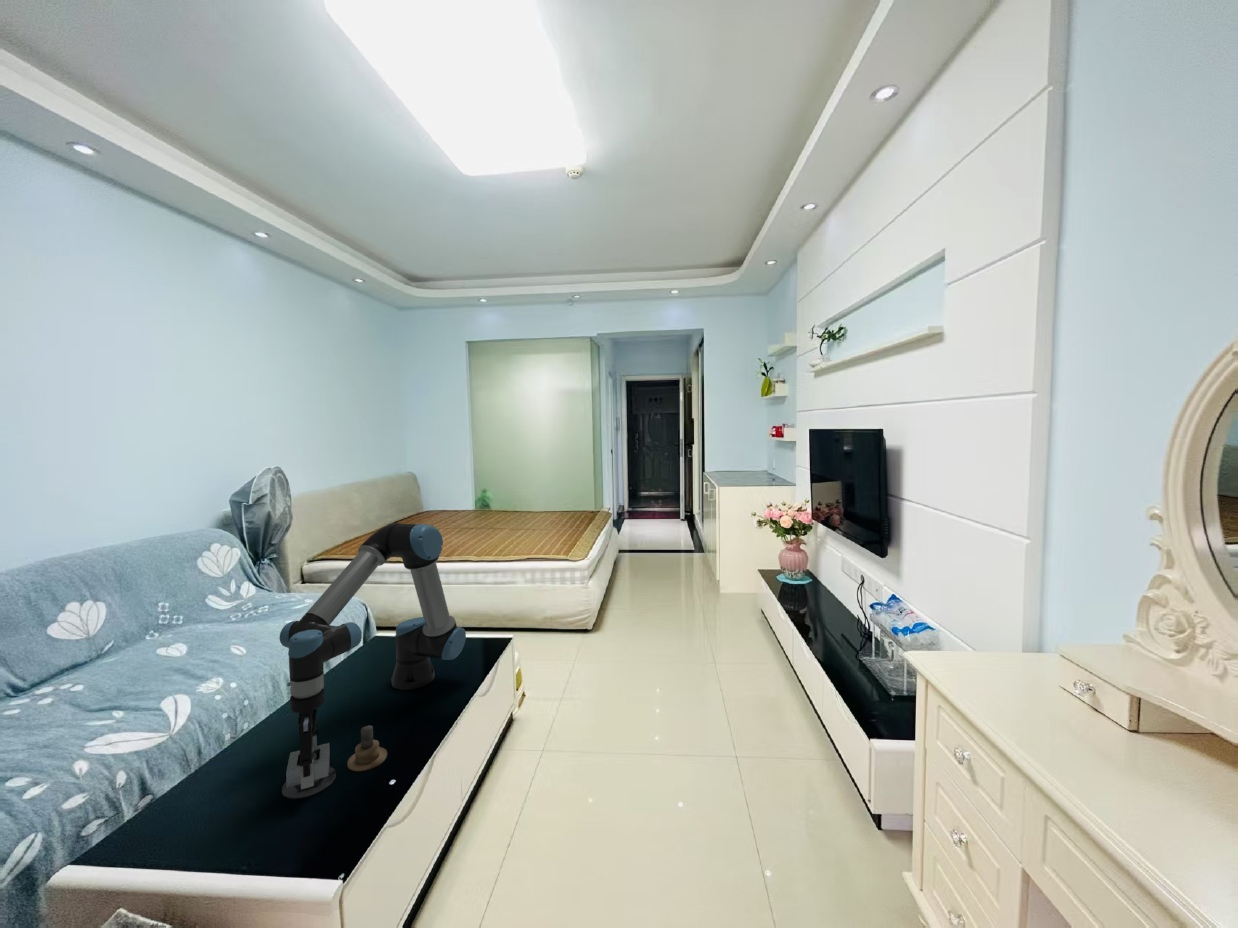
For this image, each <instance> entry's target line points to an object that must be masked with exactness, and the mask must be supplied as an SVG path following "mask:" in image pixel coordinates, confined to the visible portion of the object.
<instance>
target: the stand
mask: <svg viewBox="0 0 1238 928" xmlns="http://www.w3.org/2000/svg"><path fill="white" fill-rule="evenodd" d="M354 748H355V749H354V752H355V753H354V754H352V755H351V756H350V757H348V760H347V763H346V765H347V769H348V770H350V771H353V772H365V771H369V770H372V769H374V768H376V767H378V766H380V765H382V763H383V762H385V761H386V759H387V757H388V751H387V749H386V748H384V747H381V746H380V742H379V740H377V739H374V726H373V725H365V726H363V727H361V729H360V743H358V744H356V746H355V747H354Z"/></svg>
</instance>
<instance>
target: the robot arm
mask: <svg viewBox="0 0 1238 928" xmlns="http://www.w3.org/2000/svg"><path fill="white" fill-rule="evenodd" d="M443 545H444V541H443V535H442V533H441V532H440V530H439V529H438V528H437V527H435V526H433V525H430V524H424V523H401V522H400V523H398V522H395V523H391V524H387V525H386V526H383V527H381V528H379V529H378V530H377V531H375V532H374V533H372V535H370V536H369V537H368V538H367V539H365V541H364V542H363V543H362V544H361V545H360V546H359V547H358V549H357V552H358V553H357V554H356V556H355V557H354V558H353V559H352V560H351V561H350V562H349V564H348V565H347V566H346V567H345V568H344V569H343V570H342V571H341V572H340V574H339V575H337V577H336V578H335V579H334V581H333V582H332V583H331V584H330V585H329V586H328V588H327V589H326V590H325V591H324V592H323V593H322V594H321V596H320V597H319V598H318V599H317V600H316V601H315V602H314V603H313V605H312V606H311V607H309V609H307V611H306V612H305V614H304V615H303V616H302V617H301V619H299V620H293V621H290V622H288V623H286V624H285V625H284V626H283V627H282V629H281V631H280V633H279V642H280V644H281V645H282V646H283V647H284V648H288V654H287V655H288V665H289V666H288V669H289V682H287V683H286V686H287V687H290V688H289V690H290V691H289V693H290V694H289V695H290V697H289V702H290V705H289V706H290V707H289V708H290V711H291V712H292V713H295V714H298V715H299V717H298V720H297V722H298V726H299V727H298V735H299V750H300V763H297V766H300V772H301V789H304V788H308V787H311V786H314V771H313V758H312V747H313V746H314V747H315V746H318V745H317V743H318V742H317V735H318V734H320V729H317V727H318V726H317V715H318V708H320V707H321V706H322V705H323V704H324V702H325V689H324V687H325V671H324V666H325V665H324V664H325V663H326V662H328V661H330V660H332V659H334V658H336V657H338V656H340V655H342V654H345V653H347V652H350V651H351V650H352V649H354V648H356V647H358V646H359V645H360V643H361V641H362V637H363V635H362V634H363V633H362V629H361V628H360V626H359V625H358V624H357V623H356V622H353V621H349V622H346V623H342V624H340V625H331V624H332V623H333V622H334V620H335V619H336V618H338V615H340V614H341V612H342V611H343V609H344V608H345V607H346V606H347V604H348V603H349V602H350V601H351V600H352V598H353V597H355V595H356V593H358V591H359V590H360V589H361V587H362V586H363V585H364V583H366V581H367V580H368V579H369V578H370V577H371V576H372V574H373V573H374V571H375V570H376V569H377V568H378V567H381V566H383V565H384V564H385V563H386V562H387V561H388V560H390V559H391V558H400V559H401V560H402V563H403V566H404V568H405V569H407V570H409V571H410V574H411V577H412V581H413V583H414V584H413V585H414V588H415V592H416V595H417V600H418V602H419V606H420V610H421V614H422V617H420V616H419V617H414V618H410V619H409V618H408V619H405V620H404V621H401V622H400V623H398V624H397V625H396V627H395V635H394V636H395V660H396V661H395V662H396V664H395V666H394V669H393V674H392V676H391V687H393V688H394V689H396V690H401V691H402V690H403V691H409V690H415V689H419V688H423V687H424V686H427V685H429V684H430V683H432V682H433V681H434V680H435V669H434V666H433V664H432V661H431V659H439V660H443V661H445V660H448V661H450V660H454V659H456V658H457V657H458V656H459V655H460V654H461V653H462V651H463V648H464V646H465V643H466V639H467V633H466V630H465V629H464V627H461V626H457V622H456V619H455V617H454V616H452V615H450V612H449V609H448V606H447V605H448V604H447V602H446V601H447V600H446V598H445V597H446V596H445V594H444V589H443V586H442V580H441V577H440V573H439V569H438V566H437V561H438V560H439V558H440V555H441V553H442V551H443V547H442V546H443Z"/></svg>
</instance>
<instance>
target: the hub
mask: <svg viewBox="0 0 1238 928" xmlns="http://www.w3.org/2000/svg"><path fill="white" fill-rule="evenodd" d="M312 758H313V761H314V760H317V754H316V753H314V746H313V747H312ZM336 773H337V771H336V769H335V768H334V767H332V766H330V765H329V773H328V776H327V777H323V778H320V779H316V780H314V786H311V787H308V788H304V789H301V784H298V785H295V786H291V787H288V788H287V783H286V781H284V784H283V785H282V787H281V794H282V796H283V797H284V798H286V799H289V800H300V799H304V798H305V799H306V798H309V797H312V796H314V795H315V796H316V795H317V794H318V793H320V792H323V791H324V790H325V789H327V788H328V787H329V786H330V785H331V784H333V782H334V781H335V779H336V776H337V774H336Z"/></svg>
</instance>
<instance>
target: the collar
mask: <svg viewBox="0 0 1238 928" xmlns="http://www.w3.org/2000/svg"><path fill="white" fill-rule="evenodd" d="M330 750H331V749H330V742H328V743H322V744H320V745H317V746H315V747H314V753H316V754H317V760H314V761H313V771H314V780H316V779H320V778H323V777H327V776H328V773H329V766H330V758H331V757H330V755H331V754H330V752H331V751H330ZM287 762H288V763H287V767H286V772H285V773H286V774H285V775H286V776H285V777H286V780H285V782H286V783H287V788H288V787H291V786H295V785H298V784H301V772H300V766H297V763H300V749H299V750H296V751H291V752H290V753H289V757H288V761H287Z"/></svg>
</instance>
